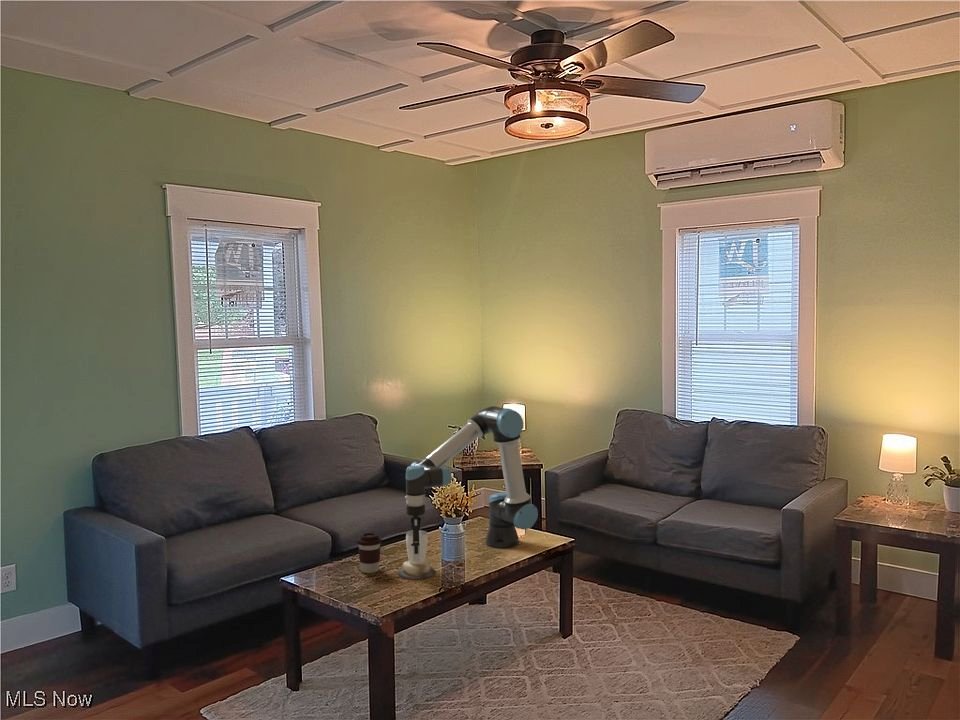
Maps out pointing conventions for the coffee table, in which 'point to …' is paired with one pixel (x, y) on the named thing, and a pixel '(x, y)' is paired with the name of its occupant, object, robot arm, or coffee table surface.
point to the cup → (423, 545)
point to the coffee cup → (369, 552)
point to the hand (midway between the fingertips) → (416, 555)
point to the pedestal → (416, 571)
